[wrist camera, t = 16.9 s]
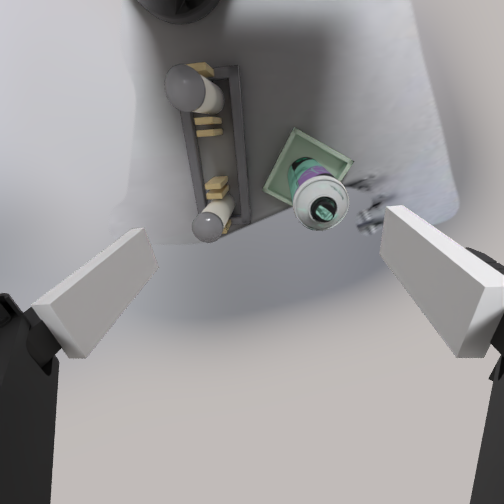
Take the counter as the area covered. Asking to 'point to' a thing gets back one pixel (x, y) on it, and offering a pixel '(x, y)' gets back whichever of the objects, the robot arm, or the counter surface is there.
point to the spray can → (316, 195)
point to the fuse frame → (217, 182)
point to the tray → (298, 148)
